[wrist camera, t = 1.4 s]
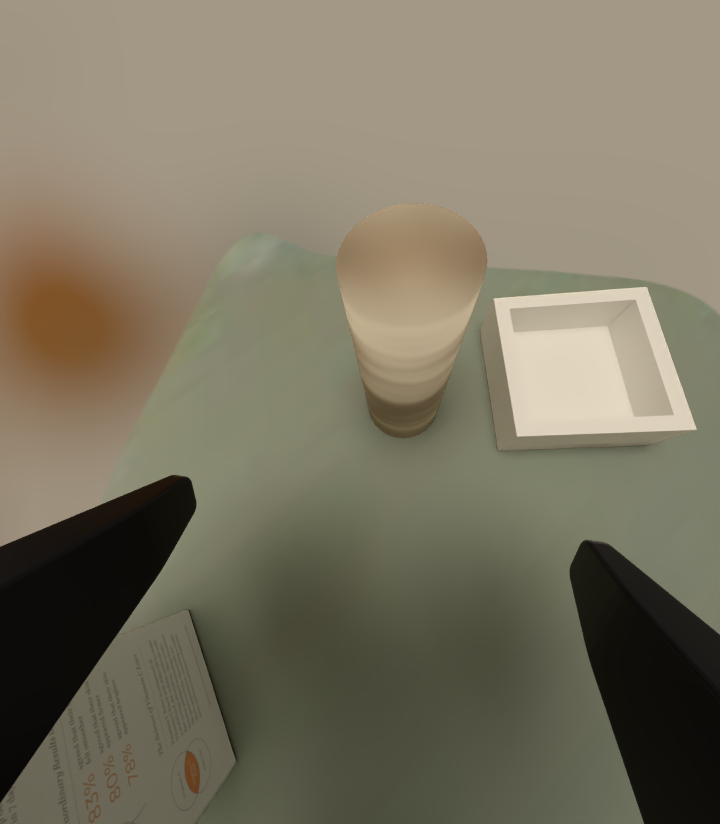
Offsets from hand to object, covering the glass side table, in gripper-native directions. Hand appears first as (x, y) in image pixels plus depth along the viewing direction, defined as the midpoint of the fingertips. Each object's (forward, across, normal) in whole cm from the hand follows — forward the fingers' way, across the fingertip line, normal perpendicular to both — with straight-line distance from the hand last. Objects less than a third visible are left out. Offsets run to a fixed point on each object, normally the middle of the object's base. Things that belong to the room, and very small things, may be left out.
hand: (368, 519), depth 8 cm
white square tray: (+16, -10, +2) cm, 19 cm away
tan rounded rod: (+15, 0, +4) cm, 15 cm away
